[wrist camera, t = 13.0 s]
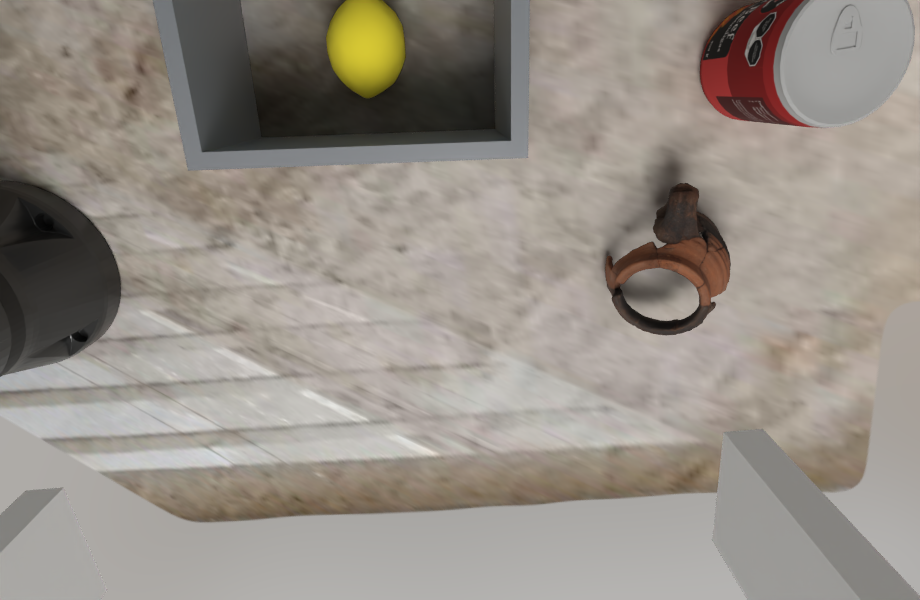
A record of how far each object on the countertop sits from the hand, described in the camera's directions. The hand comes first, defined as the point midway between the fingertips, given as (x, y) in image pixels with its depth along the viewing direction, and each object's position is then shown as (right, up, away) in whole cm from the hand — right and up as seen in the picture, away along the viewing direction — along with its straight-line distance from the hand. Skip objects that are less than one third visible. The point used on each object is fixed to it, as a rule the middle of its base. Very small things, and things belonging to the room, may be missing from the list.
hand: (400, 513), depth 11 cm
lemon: (-5, +23, +29) cm, 37 cm away
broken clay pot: (+18, +9, +35) cm, 40 cm away
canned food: (+23, +22, +30) cm, 44 cm away
